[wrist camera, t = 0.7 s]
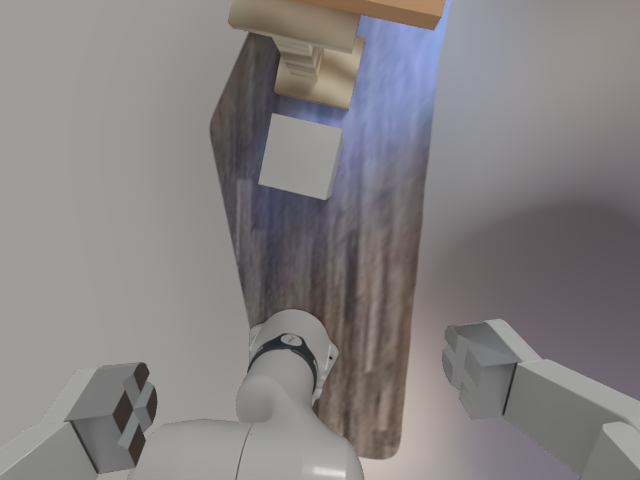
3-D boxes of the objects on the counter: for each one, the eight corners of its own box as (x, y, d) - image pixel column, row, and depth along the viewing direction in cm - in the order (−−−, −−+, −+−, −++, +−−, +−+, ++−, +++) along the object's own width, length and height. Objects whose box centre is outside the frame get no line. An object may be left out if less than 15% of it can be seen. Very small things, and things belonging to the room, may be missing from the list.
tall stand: (348, 110, 63) (349, 58, 37) (275, 93, 63) (226, 31, 38) (365, 41, 60) (377, -64, 35) (289, 24, 61) (247, -91, 35)
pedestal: (331, 196, 65) (325, 200, 49) (280, 184, 66) (258, 184, 49) (343, 143, 64) (342, 129, 47) (291, 131, 64) (272, 113, 47)
